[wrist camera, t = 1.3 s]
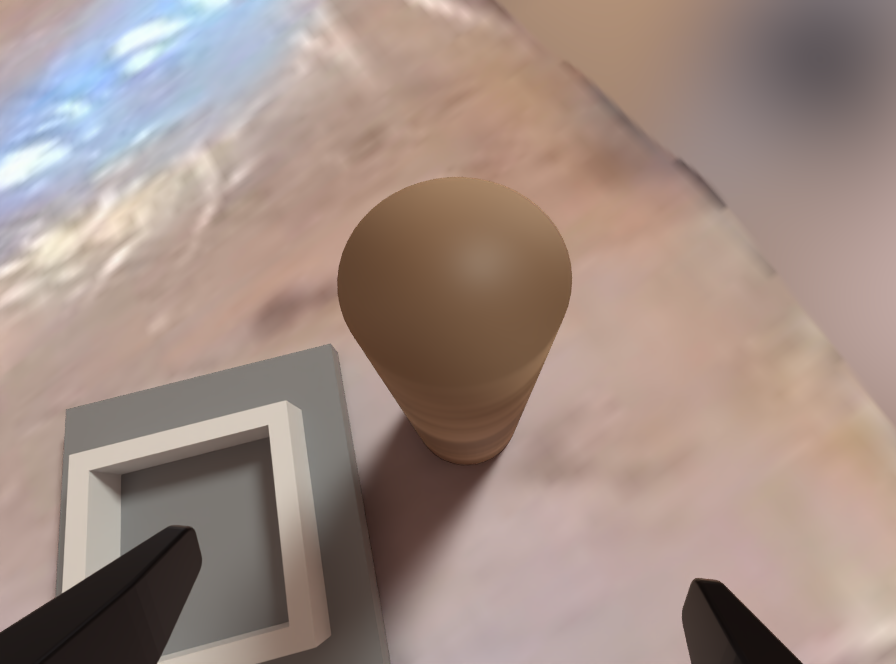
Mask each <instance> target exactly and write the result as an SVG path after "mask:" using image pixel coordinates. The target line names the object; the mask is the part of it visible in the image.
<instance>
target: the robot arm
mask: <svg viewBox="0 0 896 664" xmlns="http://www.w3.org/2000/svg"><path fill="white" fill-rule="evenodd" d="M201 566H202V554H201V550H200V546H199V543H198V539H197V535H196V531H195V529H194V528H193V527H190V526H183V525H170V526H168V527H166V528H164V529H163V530H161V531H160V532H158V533H156V534H155V535H153V536H152V537H150V538H148V539H147V540H145V541H144V542H142V543H141V544H139V545H137V546H136V547H134V548H133V549H131V550H130V551H128V552H126V553H125V554H123V555H122V556H120V557H118V558H117V559H115V560H114V561H112V562H111V563H109V564H107V565H106V566H104V567H103V568H101V569H100V570H98V571H96V572H95V573H93V574H92V575H90V576H89V577H87V578H85V579H84V580H82V581H81V582H79V583H77V584H76V585H74V586H73V587H71V588H70V589H68V590H66V591H65V592H63V593H62V594H60V595H59V596H57V597H55V598H54V599H52V600H51V601H49V602H47V603H46V604H44V605H43V606H41V607H40V608H38V609H36V610H35V611H33V612H32V613H30V614H29V615H27V616H25V617H24V618H22V619H21V620H19V621H18V622H16V623H14V624H13V625H11V626H10V627H8V628H6V629H5V630H3V631H2V632H0V664H157V663H158V661H159V659H160V657H161V655H162V653H163V651H164V649H165V647H166V645H167V643H168V641H169V638H170V636H171V634H172V632H173V630H174V627H175V625H176V623H177V621H178V619H179V616H180V614H181V612H182V610H183V608H184V605H185V603H186V601H187V599H188V596H189V594H190V592H191V590H192V588H193V585H194V583H195V581H196V579H197V577H198V574H199V572H200V569H201ZM682 623H683V628H684V632H685V637H686V642H687V646H688V651H689V655H690V660H691V664H803V663H802V662H801V661H800V660H799V659H798V658H797V657H796V656H795V655H794V654H793V653H792V652H791V651H790V650H789V649H788V648H787V647H786V646H785V645H784V644H783V643H782V642H781V641H780V640H779V639H778V638H777V637H776V636H775V635H774V634H773V633H772V632H771V631H770V630H769V629H768V628H767V627H766V626H765V625H764V624H763V623H762V622H761V621H760V620H759V619H758V618H757V617H756V616H755V615H754V614H753V613H752V612H751V611H750V610H749V609H748V608H747V607H746V606H745V605H744V604H743V603H742V602H741V601H740V600H739V599H738V598H737V597H736V596H735V595H734V594H733V593H732V592H731V591H730V590H729V589H728V588H727V587H726V586H725V585H724V584H723V583H721V582H720V581H718V580H713V579H703V578H695V579H694V580H693V581H692V582H691V585H690V588H689V591H688V594H687V597H686V600H685V603H684V606H683V610H682Z"/></svg>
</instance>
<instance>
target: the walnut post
mask: <svg viewBox="0 0 896 664" xmlns="http://www.w3.org/2000/svg"><path fill="white" fill-rule="evenodd" d="M337 284H338V297H339V303H340V308H341V311H342V314H343V317H344V320H345V322H346V324H347V326H348V328H349V330H350V332H351V333H352V335H353V336H354V338H355V339H356V341H357V342H358V344H359V345H360V347H361V348H362V350H363V351H364V353H365V354H366V356H367V358H368V359H369V361H370V362H371V364H372V365H373V367H374V368H375V370H376V371H377V373H378V374H379V376H380V377H381V379H382V380H383V382H384V383H385V385H386V386H387V388H388V389H389V391H390V392H391V394H392V395H393V397H394V398H395V400H396V401H397V403H398V404H399V406H400V407H401V409H402V410H403V412H404V413H405V415H406V416H407V418H408V419H409V421H410V422H411V424H412V425H413V427H414V428H415V430H416V432H417V433H418V435H419V436H420V438H421V439H422V441H423V442H424V443H425V445H426V446H427V447H428V448H429V449H430V450H431V451H432V452H433V453H434V454H435V455H437V456H438V457H440V458H441V459H443V460H446V461H448V462H451V463H455V464H461V465H472V464H478V463H482V462H484V461H487V460H489V459H491V458H493V457H494V456H496V455H497V454H498V453H500V452H501V451H502V450H503V449H504V448H505V447H506V445H507V444H508V443H509V441H510V439H511V438H512V436H513V434H514V431H515V429H516V427H517V424H518V422H519V420H520V417H521V415H522V413H523V411H524V408H525V406H526V404H527V401H528V399H529V397H530V394H531V392H532V390H533V387H534V385H535V383H536V381H537V378H538V376H539V374H540V371H541V369H542V367H543V364H544V362H545V360H546V357H547V355H548V353H549V350H550V348H551V346H552V344H553V341H554V339H555V337H556V334H557V332H558V330H559V327H560V325H561V323H562V320H563V318H564V315H565V313H566V310H567V308H568V304H569V300H570V295H571V287H572V271H571V263H570V258H569V254H568V250H567V248H566V245H565V243H564V240H563V238H562V236H561V234H560V233H559V231H558V229H557V227H556V226H555V225H554V223H553V222H552V221H551V219H550V218H549V217H548V216H547V215H546V214H545V213H544V212H543V211H542V210H541V209H540V208H539V207H538V206H537V205H536V204H535V203H533V202H532V201H531V200H529V199H528V198H527V197H525V196H523V195H522V194H520V193H518V192H517V191H515V190H512V189H510V188H508V187H506V186H503V185H500V184H497V183H494V182H491V181H486V180H481V179H476V178H466V177H448V178H440V179H433V180H429V181H424V182H420V183H417V184H415V185H412V186H409V187H406V188H404V189H402V190H400V191H398V192H396V193H394V194H392V195H391V196H389V197H388V198H386V199H384V200H383V201H382V202H380V203H379V204H378V205H377V206H375V207H374V208H373V209H372V210H371V211H370V212H369V213H368V214H367V215H366V216H365V217H364V218H363V219H362V220H361V221H360V223H359V224H358V225H357V227H356V228H355V229H354V231H353V233H352V234H351V236H350V238H349V239H348V241H347V244H346V246H345V248H344V251H343V253H342V257H341V261H340V264H339V270H338V279H337Z"/></svg>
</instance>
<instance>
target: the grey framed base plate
mask: <svg viewBox="0 0 896 664" xmlns="http://www.w3.org/2000/svg"><path fill="white" fill-rule="evenodd" d="M170 525H183V526H190V527H193V528H194V529H195V531H196V535H197V539H198V543H199V546H200V550H201V554H202V566H201V569H200V572H199V574H198V577H197V579H196V581H195V583H194V585H193V588H192V590H191V592H190V594H189V596H188V599H187V601H186V603H185V605H184V608H183V610H182V612H181V614H180V616H179V619H178V621H177V623H176V625H175V627H174V630H173V632H172V634H171V636H170V638H169V641H168V643H167V645H166V647H165V649H164V651H163V653H162V655H161V657H160V659H159V661H158V663H157V664H391V663H390V658H389V652H388V646H387V640H386V634H385V628H384V622H383V616H382V610H381V605H380V599H379V593H378V587H377V581H376V575H375V569H374V563H373V557H372V552H371V546H370V540H369V534H368V528H367V522H366V516H365V510H364V504H363V499H362V493H361V487H360V481H359V475H358V469H357V463H356V457H355V452H354V446H353V440H352V434H351V428H350V422H349V416H348V410H347V404H346V399H345V393H344V387H343V381H342V375H341V369H340V363H339V357H338V352H337V351H336V350H335V349H334V347H333V346H332V345H331V344H327V345H323V346H319V347H315V348H311V349H307V350H303V351H299V352H295V353H291V354H287V355H283V356H279V357H275V358H271V359H267V360H263V361H259V362H255V363H251V364H247V365H243V366H239V367H235V368H231V369H227V370H223V371H219V372H215V373H211V374H207V375H203V376H199V377H195V378H191V379H187V380H183V381H179V382H175V383H171V384H167V385H163V386H159V387H155V388H151V389H147V390H143V391H139V392H135V393H131V394H127V395H123V396H119V397H115V398H111V399H107V400H103V401H99V402H95V403H90V404H86V405H82V406H78V407H74V408H70V409H66V419H65V437H64V455H63V472H62V490H61V508H60V525H59V543H58V561H57V579H56V596H55V597H57V596H59V595H60V594H62V593H63V592H65V591H66V590H68V589H70V588H71V587H73V586H74V585H76V584H77V583H79V582H81V581H82V580H84V579H85V578H87V577H89V576H90V575H92V574H93V573H95V572H96V571H98V570H100V569H101V568H103V567H104V566H106V565H107V564H109V563H111V562H112V561H114V560H115V559H117V558H118V557H120V556H122V555H123V554H125V553H126V552H128V551H130V550H131V549H133V548H134V547H136V546H137V545H139V544H141V543H142V542H144V541H145V540H147V539H148V538H150V537H152V536H153V535H155V534H156V533H158V532H160V531H161V530H163V529H164V528H166V527H168V526H170Z"/></svg>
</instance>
